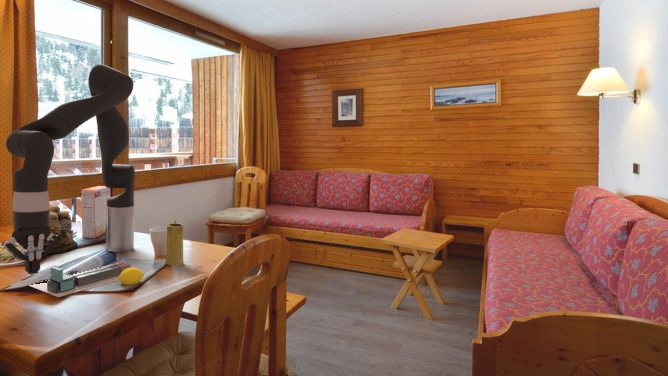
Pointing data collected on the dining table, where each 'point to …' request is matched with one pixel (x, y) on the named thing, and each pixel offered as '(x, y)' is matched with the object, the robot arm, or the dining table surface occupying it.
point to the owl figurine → (61, 230)
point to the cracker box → (94, 211)
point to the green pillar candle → (174, 244)
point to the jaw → (96, 269)
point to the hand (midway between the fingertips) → (32, 273)
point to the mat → (77, 288)
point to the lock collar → (61, 278)
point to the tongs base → (88, 278)
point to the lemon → (131, 276)
